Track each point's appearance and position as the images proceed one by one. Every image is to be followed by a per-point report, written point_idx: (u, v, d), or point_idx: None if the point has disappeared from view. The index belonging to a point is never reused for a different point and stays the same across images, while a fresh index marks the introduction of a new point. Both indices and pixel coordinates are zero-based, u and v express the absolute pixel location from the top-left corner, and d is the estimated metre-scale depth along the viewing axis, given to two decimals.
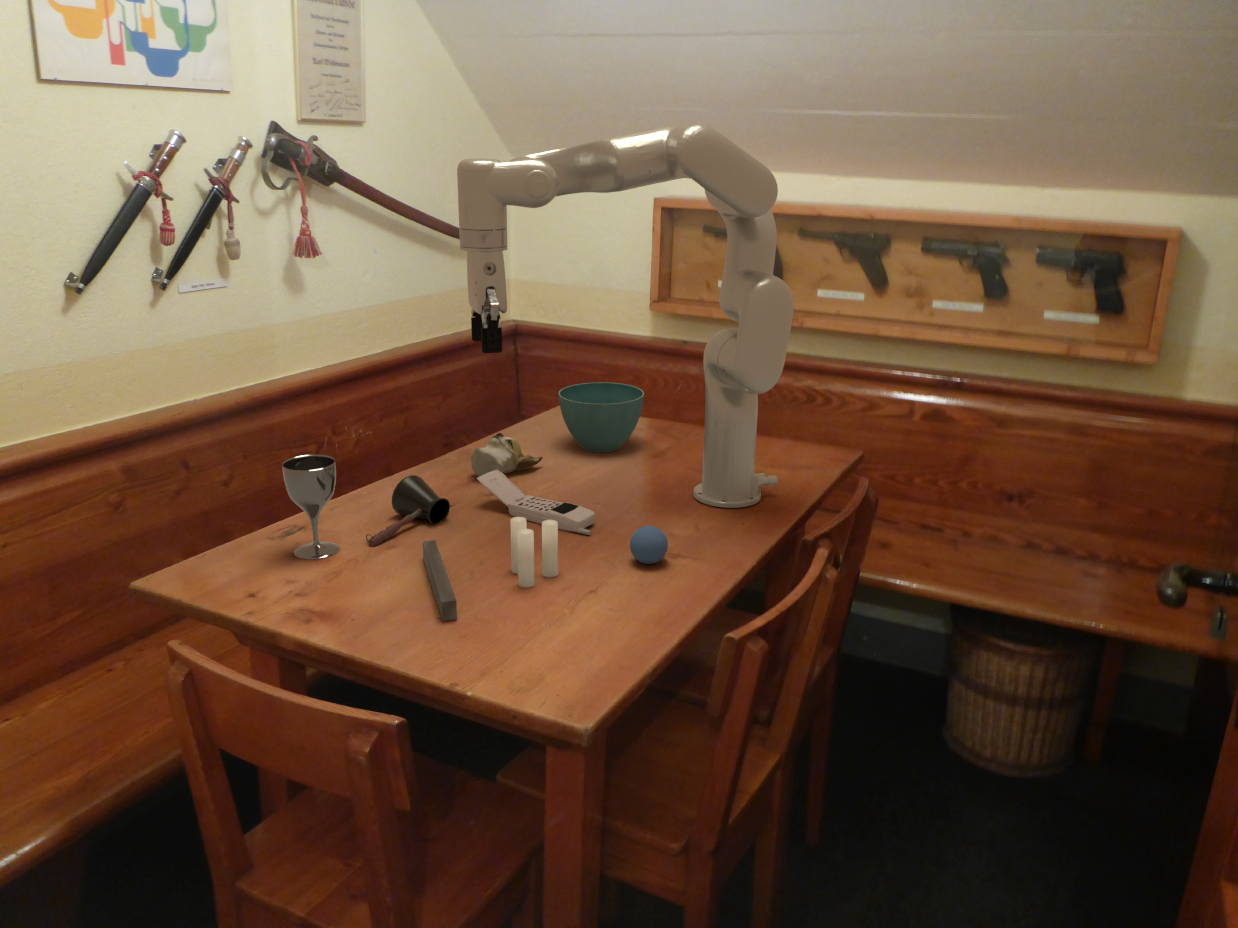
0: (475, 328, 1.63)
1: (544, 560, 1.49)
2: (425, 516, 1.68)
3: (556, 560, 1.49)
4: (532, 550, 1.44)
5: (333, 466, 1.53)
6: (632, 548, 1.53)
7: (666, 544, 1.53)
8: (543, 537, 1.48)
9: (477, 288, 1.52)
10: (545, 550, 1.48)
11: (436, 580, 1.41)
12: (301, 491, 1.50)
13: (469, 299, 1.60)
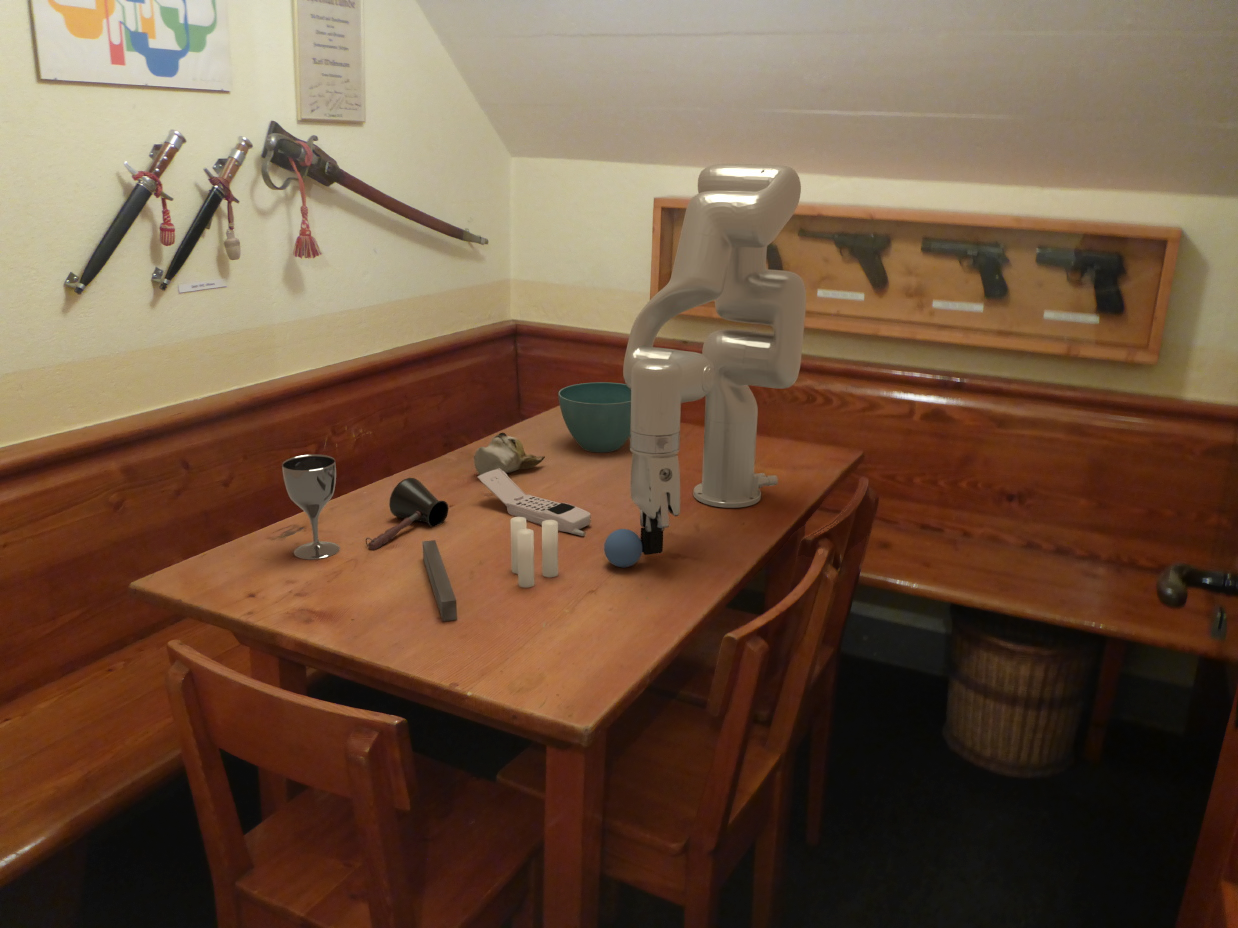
0: None
1: (544, 560, 1.49)
2: (424, 519, 1.67)
3: (556, 560, 1.49)
4: (532, 550, 1.44)
5: (333, 466, 1.53)
6: (615, 565, 1.53)
7: (631, 539, 1.50)
8: (543, 537, 1.48)
9: (652, 494, 1.46)
10: (545, 550, 1.48)
11: (436, 580, 1.41)
12: (301, 491, 1.50)
13: (634, 496, 1.53)
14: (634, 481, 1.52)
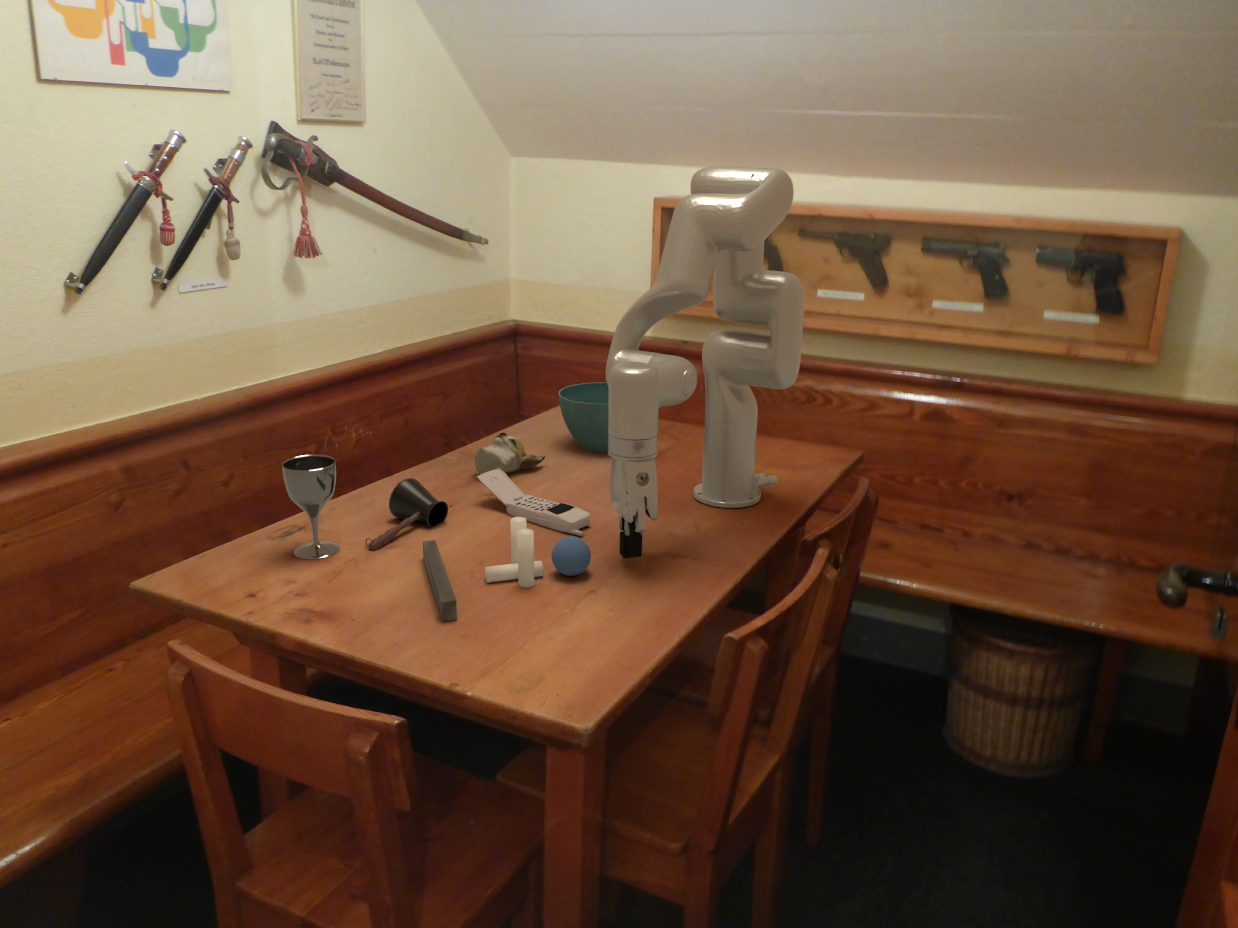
0: None
1: None
2: (423, 519, 1.67)
3: None
4: (532, 550, 1.44)
5: (333, 466, 1.53)
6: (586, 544, 1.49)
7: (566, 574, 1.48)
8: (501, 580, 1.48)
9: (629, 498, 1.45)
10: (514, 578, 1.48)
11: (436, 580, 1.41)
12: (301, 491, 1.50)
13: (613, 500, 1.53)
14: (613, 485, 1.51)
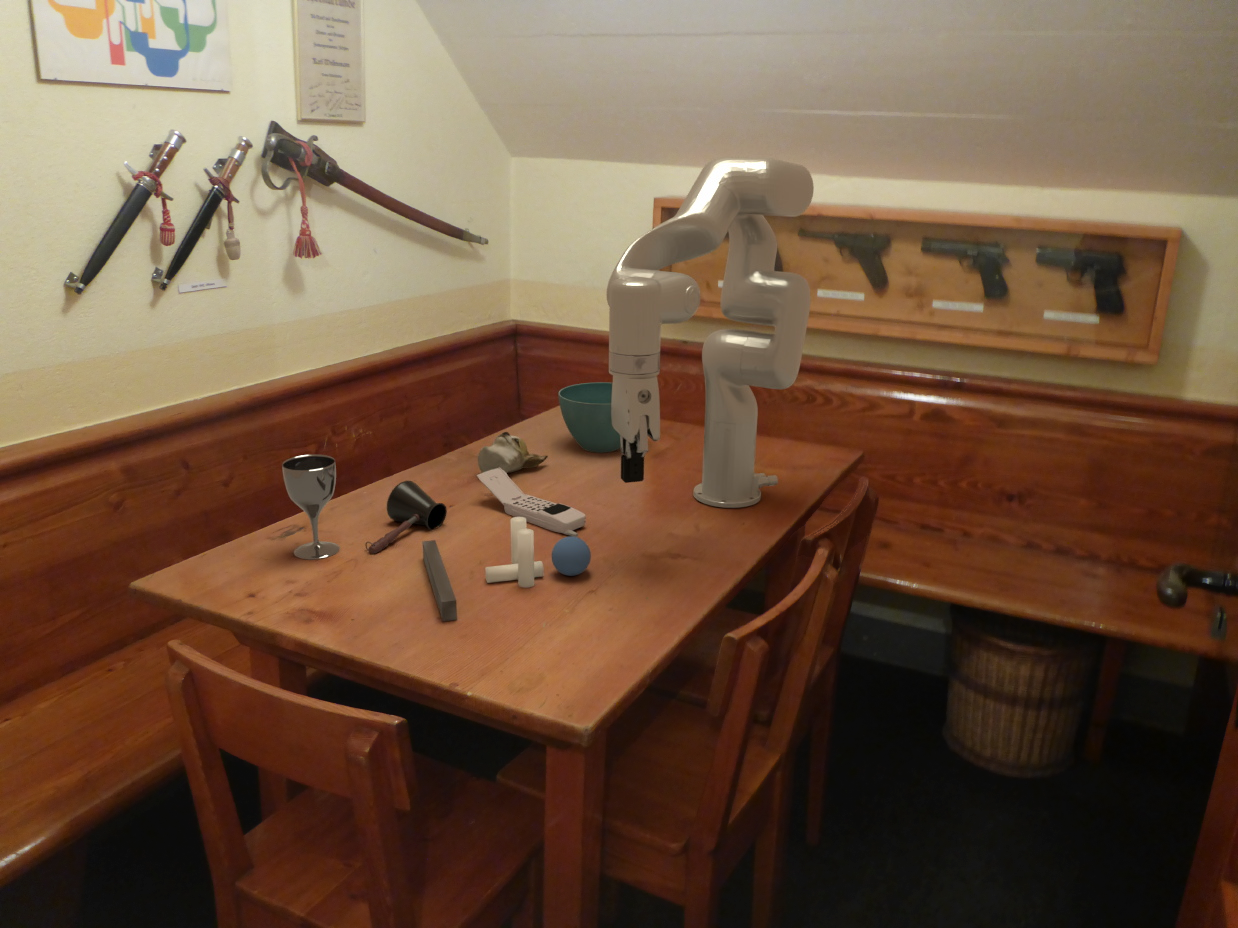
0: None
1: None
2: (422, 522, 1.66)
3: None
4: (532, 550, 1.44)
5: (333, 466, 1.53)
6: (586, 544, 1.49)
7: (566, 574, 1.48)
8: None
9: (630, 417, 1.41)
10: (514, 579, 1.48)
11: (436, 580, 1.41)
12: (301, 491, 1.50)
13: (614, 422, 1.49)
14: (614, 406, 1.47)
